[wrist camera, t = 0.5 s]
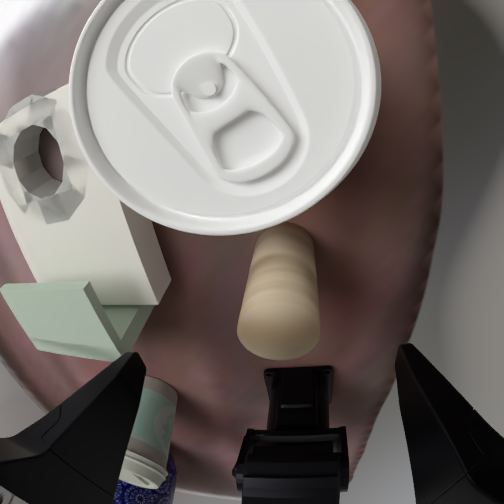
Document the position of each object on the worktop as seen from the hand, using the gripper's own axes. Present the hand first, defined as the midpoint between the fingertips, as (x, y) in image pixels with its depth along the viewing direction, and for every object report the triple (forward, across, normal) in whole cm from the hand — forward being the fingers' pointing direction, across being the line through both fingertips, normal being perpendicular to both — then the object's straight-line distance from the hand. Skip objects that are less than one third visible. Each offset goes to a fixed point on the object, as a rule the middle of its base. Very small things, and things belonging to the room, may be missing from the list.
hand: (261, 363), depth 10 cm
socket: (+12, +15, -4) cm, 20 cm away
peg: (+12, 0, +2) cm, 12 cm away
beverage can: (+12, 0, -9) cm, 15 cm away
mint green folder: (+12, +16, +4) cm, 20 cm away
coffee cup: (+13, +17, +20) cm, 30 cm away
